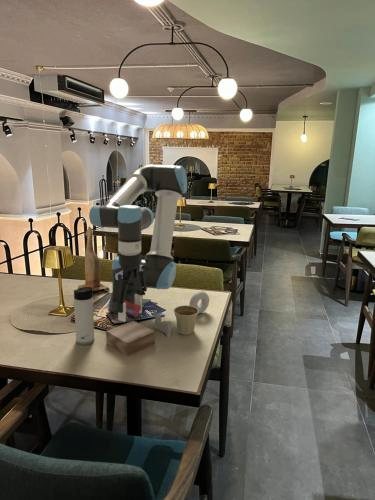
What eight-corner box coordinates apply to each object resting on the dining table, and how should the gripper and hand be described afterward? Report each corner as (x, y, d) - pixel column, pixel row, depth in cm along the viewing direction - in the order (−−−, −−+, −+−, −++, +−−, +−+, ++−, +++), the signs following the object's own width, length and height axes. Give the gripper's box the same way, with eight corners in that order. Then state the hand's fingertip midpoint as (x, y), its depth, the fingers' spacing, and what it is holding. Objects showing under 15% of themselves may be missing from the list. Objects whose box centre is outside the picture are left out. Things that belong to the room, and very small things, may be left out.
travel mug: (85, 347, 127) (83, 292, 122) (72, 341, 130) (69, 288, 125) (98, 340, 132) (97, 287, 127) (85, 335, 135) (83, 283, 130)
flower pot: (180, 339, 134) (180, 317, 132) (169, 328, 142) (169, 307, 140) (202, 334, 139) (203, 313, 136) (190, 323, 147) (191, 303, 144)
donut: (192, 317, 152) (193, 295, 150) (187, 315, 155) (188, 292, 152) (210, 312, 158) (211, 290, 156) (205, 309, 161) (206, 287, 158)
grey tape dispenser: (167, 336, 136) (153, 326, 144) (170, 335, 137) (156, 325, 144) (168, 322, 135) (153, 312, 142) (171, 321, 135) (156, 312, 143)
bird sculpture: (97, 285, 186) (93, 223, 179) (110, 291, 178) (107, 226, 171) (77, 291, 179) (72, 225, 171) (90, 297, 171) (85, 229, 163)
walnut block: (106, 343, 130) (106, 330, 129) (133, 332, 139) (133, 320, 137) (127, 356, 122) (127, 343, 121) (154, 344, 131) (154, 331, 129)
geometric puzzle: (146, 307, 130) (133, 290, 129) (143, 315, 124) (129, 297, 122) (130, 318, 132) (117, 301, 130) (127, 326, 125) (112, 308, 123)
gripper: (117, 261, 112) (118, 330, 117) (157, 248, 129) (156, 309, 134) (99, 257, 115) (100, 324, 121) (140, 245, 132) (140, 304, 138)
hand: (130, 316), depth 128 cm, fingers closed on geometric puzzle, 8 cm apart
